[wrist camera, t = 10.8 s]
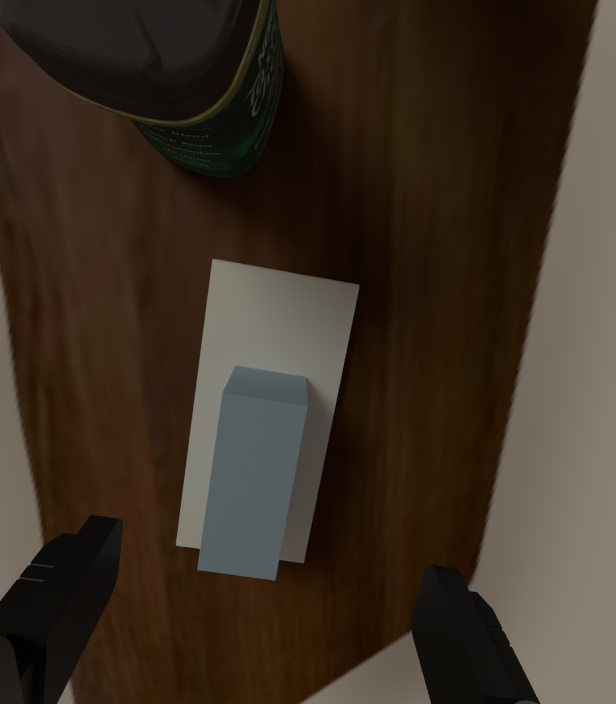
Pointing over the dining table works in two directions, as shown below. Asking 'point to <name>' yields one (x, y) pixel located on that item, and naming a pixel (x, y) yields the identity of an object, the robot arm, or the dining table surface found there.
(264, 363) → the board
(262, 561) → the block
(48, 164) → the dining table surface
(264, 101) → the coffee jar
